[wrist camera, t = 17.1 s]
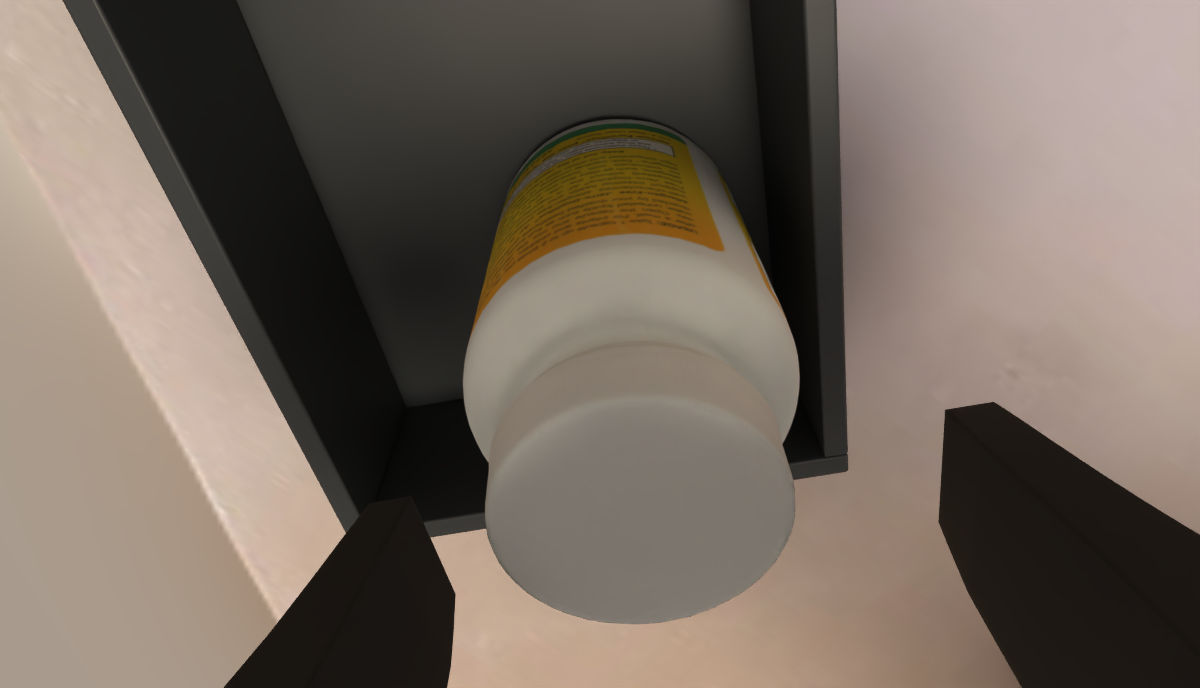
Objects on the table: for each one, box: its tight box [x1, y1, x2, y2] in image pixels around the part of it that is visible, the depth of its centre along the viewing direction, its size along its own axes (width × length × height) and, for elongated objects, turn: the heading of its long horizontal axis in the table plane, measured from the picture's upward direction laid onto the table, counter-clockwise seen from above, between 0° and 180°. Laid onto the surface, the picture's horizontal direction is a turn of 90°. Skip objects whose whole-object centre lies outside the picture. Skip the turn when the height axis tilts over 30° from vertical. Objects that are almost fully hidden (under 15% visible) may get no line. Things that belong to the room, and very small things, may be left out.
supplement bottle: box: [463, 119, 800, 624], centre depth 14 cm, size 5×5×10 cm
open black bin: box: [63, 0, 848, 537], centre depth 15 cm, size 13×11×5 cm
